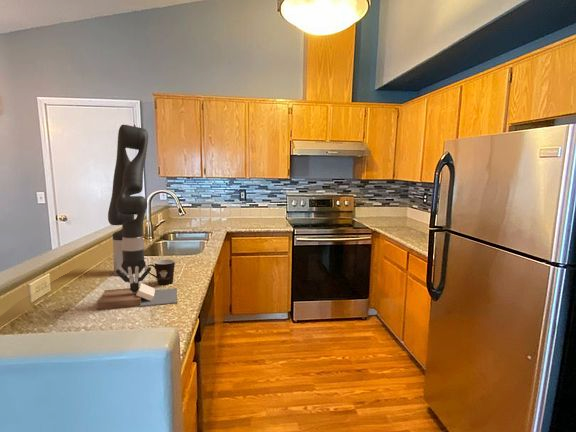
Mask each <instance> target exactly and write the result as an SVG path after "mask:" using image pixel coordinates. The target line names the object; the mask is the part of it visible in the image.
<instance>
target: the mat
mask: <svg viewBox="0 0 576 432" xmlns="http://www.w3.org/2000/svg"><path fill="white" fill-rule="evenodd" d="M172 304H173V305H174V304H178V289H177V287H176V288H174V287H173V288H164V289H155V293H154V297H153V299H152V301H150V300H147V299H145V298H142V300H141V304H140V306H139V307H141V308H143V307H151V306H154V307H155V306H163V305H172Z"/></svg>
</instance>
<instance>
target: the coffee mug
mask: <svg viewBox="0 0 576 432" xmlns="http://www.w3.org/2000/svg"><path fill="white" fill-rule="evenodd" d="M175 264H176V260H174V259H170V258H167V259H166V258H165V259H158V260H156V261H154V264H147V266H149V267H153V268H154V270H155V274H156V275H155V274H154V273H151V271H150V272H149V273H148V274H149V275H151V276H153V277H155V278H156V280H157V285H158V286H162V285H163V286H170V285H172V284H173V283H174V273H175V267H176V266H175ZM169 284H170V285H169ZM163 286H162V287H163Z"/></svg>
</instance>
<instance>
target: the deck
mask: <svg viewBox="0 0 576 432" xmlns="http://www.w3.org/2000/svg"><path fill="white" fill-rule="evenodd" d="M136 294H137V292H132V291H131V290H130V287H129V288H117V289H116V288H114V289H105V290H104V291H103V293H102V294H101V296H100V298H99V299H98V302H97V304H96V305H97V311H102V310H112V309H113V310H114V309H123V308H132V307H133V308H134V307H135V308H136V307H140V304H141V300H142V297H140V296H137V295H136Z"/></svg>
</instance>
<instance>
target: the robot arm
mask: <svg viewBox="0 0 576 432" xmlns="http://www.w3.org/2000/svg"><path fill="white" fill-rule="evenodd" d="M118 128H119V129H118V133H117V148H116V149H117V150H116V161H115V166H114V167H115V168H114V173H113V178H112V179H113V180H112V190H111V191H112V192H111V197H110V198H111V199H110V202H109V207H108V213H107V219H108V222H109V225H111V226H122V227H121V229H120V230H117V231H115V232H113V233H112V253H113V255H112V257H113V260H112V261H113V275H115V276H119V277H120V279H122V280H123V281H124V283H128V284H129V288H130V290H131V291H132V292H137V291H138V289H139V286H140V284H139V283H140V282H142V281H144V279H146V277H148V274H149V272H150V273H151V271H152V266H148V264H146V261H145V241H144V240H145V239H144V220H145V216H146V212H147V209H148V201H147V199H146V197H144V196H143V195H137V194H140V193H142V192H143V187H144V184H143V182H144V180H143V179H144V170H145V163H146V156H147V152H148V151H147V150H148V144H149V133H148V130H147V129H146V128H143V127H139V126H134V125H130V124H129V125H128V124H121V125H120V126H119V127H118ZM126 149H132V150H137V154H136V155H135V157H134V158H133V159H132V160H130V158H129V155H128V153H127V150H126ZM135 215H137V216H136V218H135ZM143 270H144V272H143V273H142V271H143ZM140 273H142V274H141V276H140Z"/></svg>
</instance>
